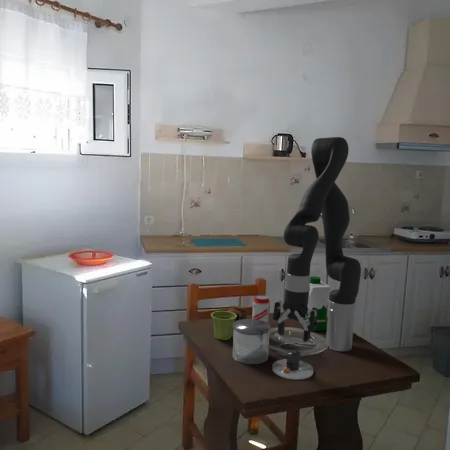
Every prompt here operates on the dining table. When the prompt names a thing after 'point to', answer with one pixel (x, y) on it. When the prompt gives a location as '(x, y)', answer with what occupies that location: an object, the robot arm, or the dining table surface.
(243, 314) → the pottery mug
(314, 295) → the milk carton
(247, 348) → the cooker pot
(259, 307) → the beer can
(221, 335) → the plant pot
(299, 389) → the dining table surface
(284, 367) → the cooker lid
